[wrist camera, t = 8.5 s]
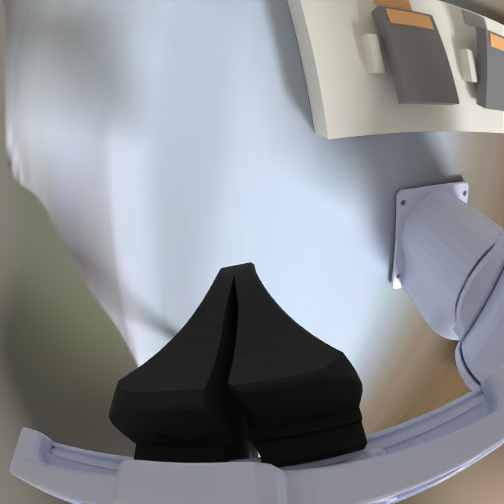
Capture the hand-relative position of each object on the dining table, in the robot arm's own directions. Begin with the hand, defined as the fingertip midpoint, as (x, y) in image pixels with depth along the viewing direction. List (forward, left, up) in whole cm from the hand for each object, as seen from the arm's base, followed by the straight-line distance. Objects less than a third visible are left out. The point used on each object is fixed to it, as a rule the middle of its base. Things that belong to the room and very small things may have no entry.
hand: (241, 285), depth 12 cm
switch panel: (+9, -20, -9) cm, 24 cm away
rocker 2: (+9, -20, -5) cm, 22 cm away
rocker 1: (+9, -12, -5) cm, 16 cm away
